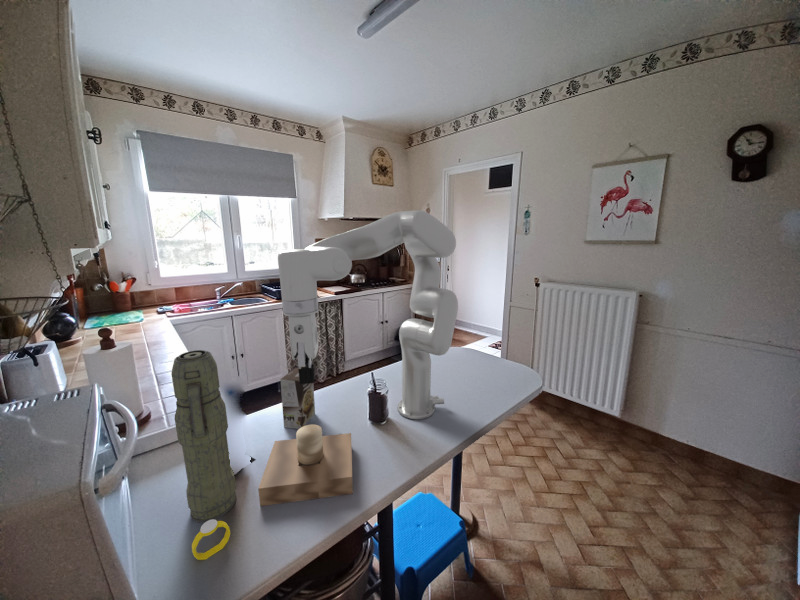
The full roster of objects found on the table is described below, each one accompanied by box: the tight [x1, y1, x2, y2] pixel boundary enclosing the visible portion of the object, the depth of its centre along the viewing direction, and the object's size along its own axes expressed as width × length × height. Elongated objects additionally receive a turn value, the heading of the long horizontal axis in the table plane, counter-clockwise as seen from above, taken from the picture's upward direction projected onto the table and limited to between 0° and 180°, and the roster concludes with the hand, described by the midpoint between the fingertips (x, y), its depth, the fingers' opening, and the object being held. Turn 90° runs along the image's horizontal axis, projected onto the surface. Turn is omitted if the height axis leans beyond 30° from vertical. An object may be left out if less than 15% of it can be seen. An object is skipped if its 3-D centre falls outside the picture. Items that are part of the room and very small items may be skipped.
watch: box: [191, 519, 231, 561], centre depth 57 cm, size 6×3×6 cm, turn 136°
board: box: [257, 432, 354, 507], centre depth 76 cm, size 20×16×4 cm
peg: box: [295, 424, 324, 466], centre depth 76 cm, size 6×6×11 cm
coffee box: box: [280, 367, 316, 430], centre depth 97 cm, size 9×6×16 cm
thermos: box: [171, 349, 237, 523], centre depth 64 cm, size 9×12×35 cm
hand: (307, 381), depth 72 cm, fingers closed
